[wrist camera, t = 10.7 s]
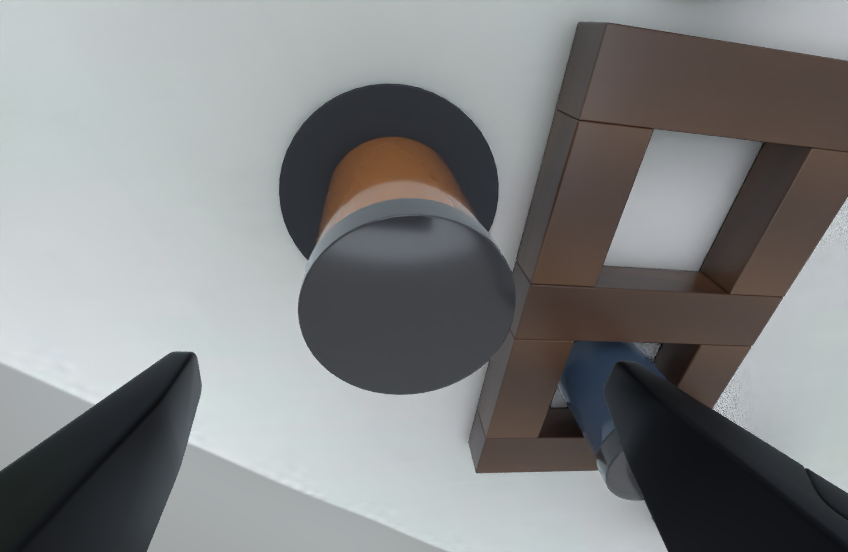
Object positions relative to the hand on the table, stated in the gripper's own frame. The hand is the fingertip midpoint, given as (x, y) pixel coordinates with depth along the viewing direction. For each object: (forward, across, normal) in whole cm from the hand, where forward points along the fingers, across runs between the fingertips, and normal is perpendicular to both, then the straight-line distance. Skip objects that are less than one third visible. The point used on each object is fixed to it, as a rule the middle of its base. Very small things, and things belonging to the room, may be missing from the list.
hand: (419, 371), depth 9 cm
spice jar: (+10, -12, +9) cm, 19 cm away
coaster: (+10, 0, 0) cm, 11 cm away
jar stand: (+10, -12, +4) cm, 17 cm away
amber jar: (+10, 0, 0) cm, 10 cm away
